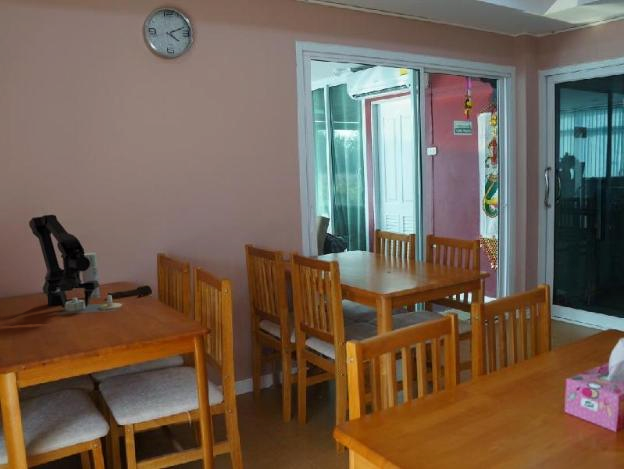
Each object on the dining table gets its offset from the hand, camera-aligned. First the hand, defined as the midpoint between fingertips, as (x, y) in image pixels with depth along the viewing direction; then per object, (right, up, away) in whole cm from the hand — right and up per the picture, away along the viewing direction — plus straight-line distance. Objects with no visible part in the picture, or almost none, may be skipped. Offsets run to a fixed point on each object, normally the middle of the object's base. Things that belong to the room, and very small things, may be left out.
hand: (75, 307), depth 230 cm
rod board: (+7, -1, 0) cm, 7 cm away
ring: (0, -1, 0) cm, 1 cm away
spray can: (-2, +1, +24) cm, 24 cm away
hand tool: (+16, +1, +22) cm, 27 cm away
